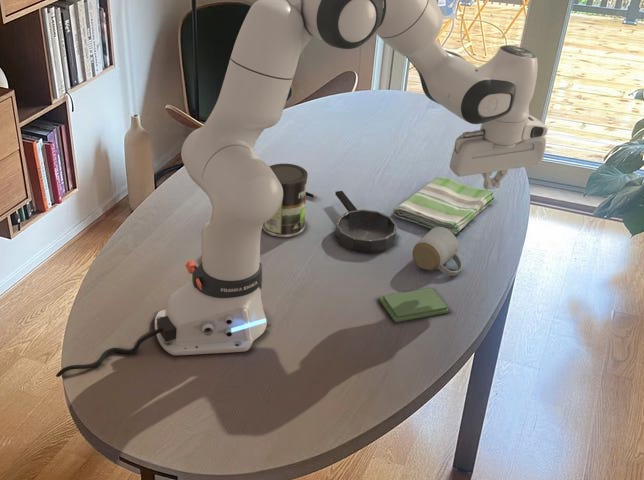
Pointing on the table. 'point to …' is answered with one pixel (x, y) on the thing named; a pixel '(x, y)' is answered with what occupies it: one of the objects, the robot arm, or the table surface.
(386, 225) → the steel pan
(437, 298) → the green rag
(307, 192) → the fountain pen
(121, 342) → the table surface
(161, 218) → the table surface
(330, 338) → the table surface
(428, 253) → the ceramic mug
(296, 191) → the coffee can
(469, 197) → the dish towel
